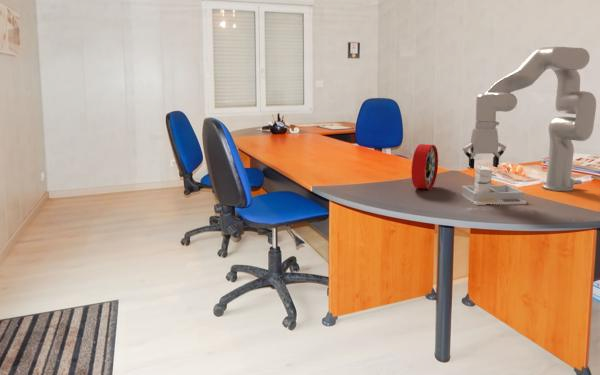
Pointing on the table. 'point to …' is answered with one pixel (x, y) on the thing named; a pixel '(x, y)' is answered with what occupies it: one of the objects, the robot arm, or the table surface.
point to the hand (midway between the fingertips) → (483, 167)
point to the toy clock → (424, 166)
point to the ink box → (482, 179)
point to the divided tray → (494, 195)
